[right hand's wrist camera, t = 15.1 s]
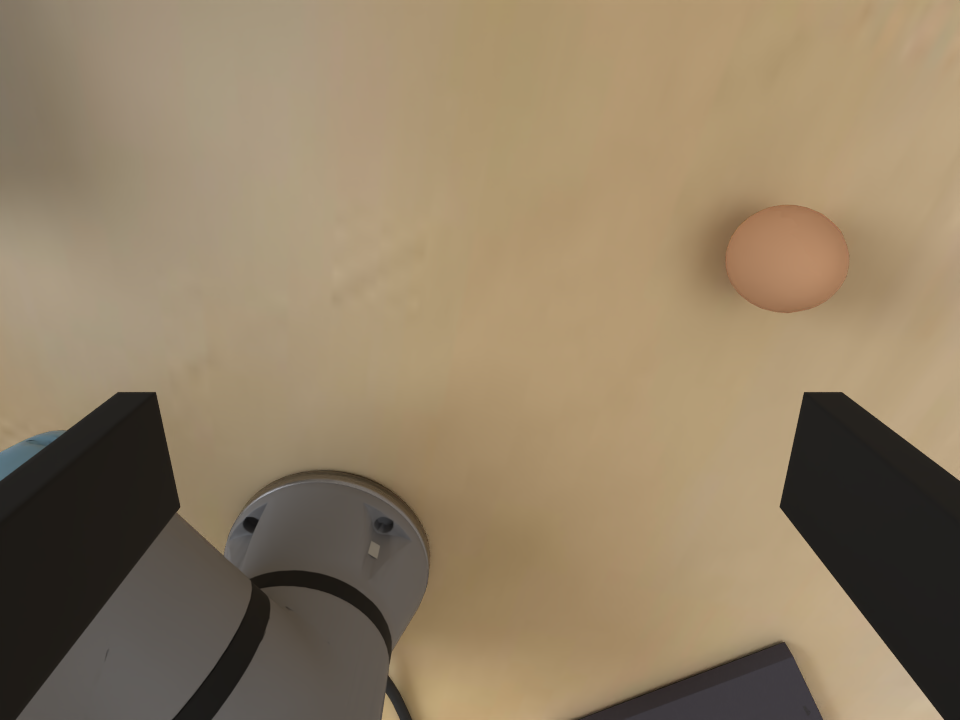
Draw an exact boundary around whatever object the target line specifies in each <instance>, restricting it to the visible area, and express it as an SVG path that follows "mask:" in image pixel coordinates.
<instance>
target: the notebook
mask: <svg viewBox="0 0 960 720" xmlns="http://www.w3.org/2000/svg"><path fill="white" fill-rule="evenodd" d="M579 720H823V719H822V717H821V715H820V712H819V710H818V708H817V706H816V704H815V702H814V700H813V698H812V696H811V693H810V691H809V689H808V687H807V685H806V683H805V681H804V679H803V677H802V674H801V672H800V670H799V668H798V666H797V664H796V662H795V660H794V658H793V656H792V654H791V652H790V651H789V649H788V647H787V645H786V644H785V642H783V643H781V644H778V645H775V646H773V647H770V648H767V649H765V650H762V651H759V652H757V653H754V654H751V655H749V656H746V657H743V658H741V659H738V660H735V661H733V662H730V663H728V664H725V665H722V666H720V667H717V668H714V669H712V670H709V671H706V672H704V673H701V674H698V675H696V676H693V677H690V678H688V679H685V680H682V681H680V682H677V683H674V684H672V685H669V686H667V687H664V688H661V689H659V690H656V691H653V692H651V693H648V694H645V695H643V696H640V697H637V698H635V699H632V700H629V701H627V702H624V703H621V704H619V705H616V706H613V707H611V708H608V709H606V710H603V711H600V712H598V713H595V714H592V715H590V716H587V717H584V718H582V719H579Z"/></svg>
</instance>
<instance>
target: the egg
mask: <svg viewBox="0 0 960 720" xmlns="http://www.w3.org/2000/svg"><path fill="white" fill-rule="evenodd" d="M848 268H849V252H848V248H847V245H846V242H845V240H844V237H843V235H842V233H841V231H840V230H839V229H838V228H837V226H836V225H835V224H834V223H833V222H832V221H830V220H829V219H828V218H827V217H825V216H824V215H823V214H821V213H819V212H816V211H814V210H811V209H809V208H806V207H801V206H797V205H780V206H774V207H769V208H766V209H764V210H762V211H759V212H757V213H755V214H754V215H752V216H750V217H749V218H748V219H746V220H745V221H744V222H743V223H742V224H741V225H740V226H739V227H738V228H737V229H736V231H735V232H734V234H733V235H732V237H731V239H730V242H729V244H728V247H727V251H726V270H727V274H728V277H729V279H730V282H731V283H732V285H733V286H734V288H735V289H736V291H737V292H738V293H739V294H740V295H741V296H742V297H744V298H745V299H746V300H748V301H749V302H750V303H752V304H754V305H756V306H758V307H760V308H762V309H766V310H770V311H774V312H782V313H791V312H797V311H803V310H807V309H810V308H813V307H816V306H818V305H820V304H822V303H823V302H825V301H827V300H828V299H829V298H830V297H831V296H833V295H834V294H835V293H836V292H837V290H838V289H839V288H840V287H841V285H842V283H843V282H844V280H845V278H846V276H847V272H848Z"/></svg>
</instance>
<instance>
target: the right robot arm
mask: <svg viewBox="0 0 960 720" xmlns="http://www.w3.org/2000/svg"><path fill="white" fill-rule="evenodd" d="M179 508H180V503H179V498H178V494H177V489H176V484H175V480H174V475H173V470H172V466H171V461H170V456H169V451H168V447H167V442H166V437H165V433H164V428H163V423H162V419H161V414H160V409H159V405H158V400H157V395H156V392H118V393H116V394H115V395H114V396H112V397H111V398H110V399H108V400H107V401H106V402H104V403H103V404H102V405H100V406H99V407H98V408H96V409H95V410H94V411H92V412H91V413H90V414H89V415H87V416H86V417H85V418H83V419H82V420H81V421H79V422H78V423H77V424H75V425H74V426H73V427H71V428H70V429H69V430H67V431H50V432H46V433H42V434H39V435H36V436H33V437H31V438H28V439H26V440H24V441H22V442H20V443H18V444H16V445H14V446H12V447H10V448H8V449H6V450H4V451H2V452H0V720H381V719H382V712H383V705H384V699H385V692H386V694H387V695H388V697H389V698H390V700H391V702H392V703H393V705H394V707H395V710H396V712H397V714H398V716H399V718H400V720H412V719H411V717H410V714H409V712H408V710H407V708H406V705H405V703H404V701H403V699H402V697H401V695H400V693H399V691H398V689H397V688H396V686H395V685H394V683H393V682H392V680H391V679H390V677H389V676H388V671H389V664H390V658H391V653H392V650H393V649H394V647H395V645H396V644H397V642H398V640H399V639H400V637H401V635H402V634H403V632H404V631H405V629H406V627H407V626H408V624H409V622H410V621H411V619H412V617H413V616H414V614H415V612H416V611H417V609H418V607H419V605H420V603H421V600H422V598H423V595H424V593H425V590H426V587H427V582H428V575H429V566H430V550H429V544H428V540H427V537H426V534H425V531H424V529H423V527H422V525H421V523H420V521H419V520H418V518H417V517H416V515H415V514H414V513H413V511H412V510H411V509H410V508H409V507H408V506H407V505H406V503H405V502H403V501H402V500H401V499H400V498H399V497H398V496H396V495H395V494H394V493H392V492H391V491H390V490H388V489H386V488H385V487H383V486H381V485H379V484H377V483H375V482H373V481H371V480H368V479H366V478H363V477H360V476H357V475H353V474H348V473H344V472H336V471H309V472H302V473H297V474H293V475H290V476H287V477H283V478H281V479H279V480H277V481H274V482H273V483H271V484H269V485H267V486H266V487H264V488H263V489H261V490H260V491H259V492H258V493H256V494H255V495H254V496H253V497H252V498H251V499H250V500H249V501H248V503H247V504H246V505H245V507H244V508H243V510H242V511H241V513H240V514H239V516H238V518H237V519H236V521H235V523H234V525H233V527H232V528H231V531H230V533H229V536H228V540H227V543H226V547H225V551H224V556H223V555H222V554H221V553H220V552H219V551H218V550H217V549H216V548H215V547H213V546H212V545H211V544H210V543H209V542H208V541H207V540H206V539H205V538H204V537H203V536H201V535H200V534H199V533H198V532H197V531H196V530H195V529H194V528H193V527H192V526H191V525H190V524H188V523H187V522H186V521H185V520H184V519H183V518H182V517H181V516H180V515H179V514H178V513H176V512H177V511H178V509H179ZM780 508H781V509H782V511H783V512H784V513H785V515H786V516H787V517H788V518H789V520H790V521H791V522H792V524H793V525H794V526H795V527H796V529H797V530H798V531H799V533H800V534H801V535H802V537H803V538H804V539H805V540H806V542H807V543H808V544H809V546H810V547H811V548H812V549H813V551H814V552H815V553H816V555H817V556H818V557H819V558H820V560H821V561H822V562H823V564H824V565H825V566H826V568H827V569H828V570H829V571H830V573H831V574H832V575H833V577H834V578H835V579H836V580H837V582H838V583H839V584H840V586H841V587H842V588H843V590H844V591H845V592H846V593H847V595H848V596H849V597H850V599H851V600H852V601H853V602H854V604H855V605H856V606H857V608H858V609H859V610H860V611H861V613H862V614H863V615H864V617H865V618H866V619H867V621H868V622H869V623H870V624H871V626H872V627H873V628H874V630H875V631H876V632H877V633H878V635H879V636H880V637H881V639H882V640H883V641H884V643H885V644H886V645H887V646H888V648H889V649H890V650H891V652H892V653H893V654H894V655H895V657H896V658H897V659H898V661H899V662H900V663H901V664H902V666H903V667H904V668H905V670H906V671H907V672H908V674H909V675H910V676H911V677H912V679H913V680H914V681H915V683H916V684H917V685H918V686H919V688H920V689H921V690H922V692H923V693H924V694H925V696H926V697H927V698H928V699H929V701H930V702H931V703H932V705H933V706H934V707H935V708H936V710H937V711H938V712H939V714H940V715H941V716H942V717H943V719H944V720H960V481H959V480H958V479H956V478H955V477H954V476H952V475H951V474H950V473H948V472H947V471H946V470H945V469H943V468H942V467H941V466H939V465H938V464H937V463H935V462H934V461H933V460H931V459H930V458H929V457H927V456H926V455H925V454H923V453H922V452H921V451H919V450H918V449H917V448H915V447H914V446H913V445H911V444H910V443H909V442H907V441H906V440H905V439H903V438H902V437H901V436H899V435H898V434H897V433H895V432H894V431H893V430H891V429H890V428H889V427H887V426H886V425H885V424H883V423H882V422H881V421H879V420H878V419H877V418H875V417H874V416H873V415H871V414H870V413H869V412H868V411H866V410H865V409H864V408H862V407H861V406H860V405H858V404H857V403H856V402H854V401H853V400H852V399H850V398H849V397H848V396H846V395H845V394H844V393H842V392H804V395H803V400H802V405H801V409H800V414H799V419H798V423H797V428H796V433H795V437H794V442H793V447H792V451H791V456H790V461H789V466H788V470H787V475H786V480H785V484H784V489H783V494H782V498H781V503H780Z"/></svg>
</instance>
